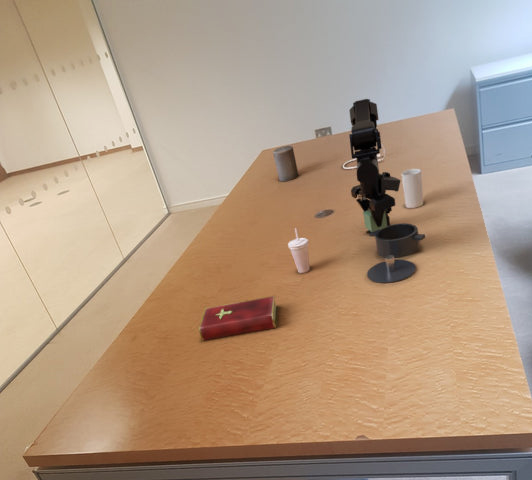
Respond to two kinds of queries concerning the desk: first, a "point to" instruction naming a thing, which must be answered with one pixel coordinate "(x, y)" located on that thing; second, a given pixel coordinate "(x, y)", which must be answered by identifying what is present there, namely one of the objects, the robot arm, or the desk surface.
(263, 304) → the hardcover book
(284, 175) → the pillar candle
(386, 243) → the pot
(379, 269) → the lid
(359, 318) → the desk surface
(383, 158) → the earphone
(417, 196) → the mug
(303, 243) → the smoothie
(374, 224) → the block
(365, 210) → the robot arm
